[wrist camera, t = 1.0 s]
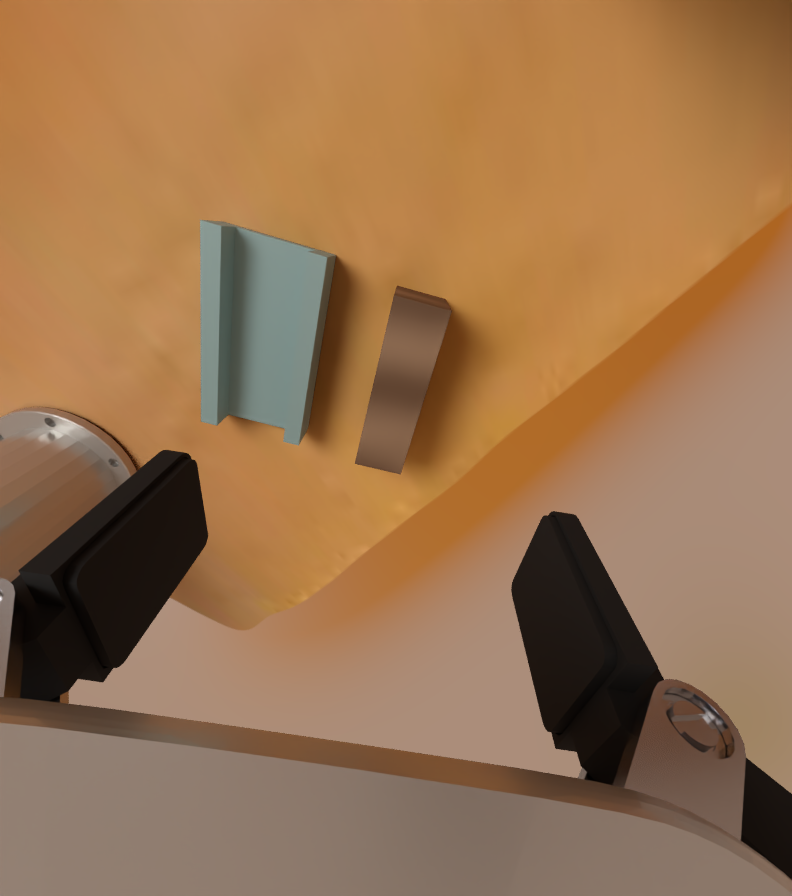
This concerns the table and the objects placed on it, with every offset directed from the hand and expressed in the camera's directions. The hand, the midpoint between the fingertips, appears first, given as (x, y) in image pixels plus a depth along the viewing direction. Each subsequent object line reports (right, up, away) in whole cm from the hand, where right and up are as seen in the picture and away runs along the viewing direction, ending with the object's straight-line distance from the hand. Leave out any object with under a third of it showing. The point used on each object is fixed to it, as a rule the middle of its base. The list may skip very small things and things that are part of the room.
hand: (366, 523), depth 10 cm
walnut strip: (+1, +8, +19) cm, 20 cm away
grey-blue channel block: (-9, +10, +18) cm, 22 cm away
